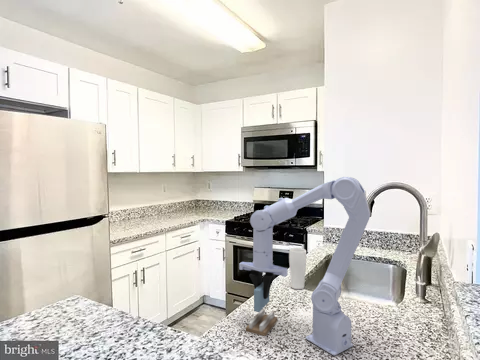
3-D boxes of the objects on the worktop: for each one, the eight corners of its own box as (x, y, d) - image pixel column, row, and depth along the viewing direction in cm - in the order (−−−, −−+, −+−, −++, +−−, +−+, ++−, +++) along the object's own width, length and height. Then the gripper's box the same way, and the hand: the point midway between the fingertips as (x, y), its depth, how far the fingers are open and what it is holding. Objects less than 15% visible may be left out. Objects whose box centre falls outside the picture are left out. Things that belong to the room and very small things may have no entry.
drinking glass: (286, 288, 115) (286, 250, 115) (291, 283, 121) (292, 247, 121) (303, 291, 111) (303, 252, 111) (308, 286, 117) (308, 249, 117)
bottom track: (259, 316, 91) (259, 308, 91) (277, 320, 88) (277, 312, 88) (245, 331, 82) (245, 321, 82) (265, 336, 79) (265, 326, 79)
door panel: (259, 312, 81) (259, 290, 81) (254, 311, 82) (253, 289, 82) (269, 301, 88) (269, 281, 88) (264, 300, 89) (264, 280, 89)
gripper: (290, 250, 86) (290, 296, 86) (246, 245, 92) (246, 288, 92) (283, 256, 79) (283, 305, 79) (236, 250, 86) (235, 296, 86)
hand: (262, 296), depth 85 cm, fingers closed on door panel, 2 cm apart
